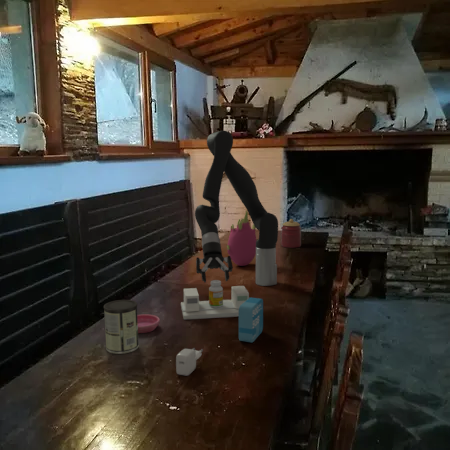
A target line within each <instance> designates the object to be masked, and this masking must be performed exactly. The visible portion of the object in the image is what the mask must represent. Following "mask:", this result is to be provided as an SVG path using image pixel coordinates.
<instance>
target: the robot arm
mask: <svg viewBox="0 0 450 450" xmlns="http://www.w3.org/2000/svg"><path fill="white" fill-rule="evenodd" d="M233 145H234V137H233V136H232V134H231V132H229V131H227V130H220V131H215V132H213V133H211V134H209V135H208V136H207V139H206V146H207V148H208V150H209V152H210V153H211V154H212V156H213V161H212V162H211V166H210V168H209V171H208V172H207V175H206V178H205V181H204V185H203V191H202V198H203V199H204V200H206V201H207V202H209V204H210V205H206V204H199V205H198V206H196V208H195V211H194V217H195V220H196V222H197V225H198V227H199V229H200V233H201V248H202V255H203V258H200V257H196V260H195V265H196V266H195V267H196V270H195V271H196V274H200V275H201V280H202V282H204V283H207V275H206V272H208V269H210V270H213V269H216V270H217V269H220V270H221V271H223V272H224V279H225V282H228V281H229V279H230V272H233V268H234V266H233V263H232V262H233V261H232V259H231V257H230V255H228V256H227V257H224V255H223V252H222V245H221V240H220V236H219V235H220V234H219V228H218V225H217V224H216V223H217V222H218V221H219V219H220V216H221V213H220V212H221V210H220V193H221V187H222V181H223V178H224V175H225V176H226V178H227V179H228V180H229V182H230V185H231V186H232V188H233V190H234V191H235V193H236V195H237V196H238V198H239V200H240V201H241V203H242V204H243V205H244V207H245V209H246V211H247V212H248V216H249V217H250V219H251V221H252V222H251V223H252V225H254V226H255V227H256V230H258V233H259V234H258V240H257V241H256V254H255V284H256V285H257V286H263V287H264V286H265V287H266V286H267V287H269V286H271V287H272V286H274V285H277V284H278V277H277V276H278V264H277V263H276V261H277V260H276V258H277V257H276V256H277V242H278V239H279V221H278V217H277V216H276V215H275V214H273V213H271V212H268V211H267V210H266V209H265V207H264V206H263V204H262V202H261V201H260V198H259V195H258V190H257V187H256V183H255V182H254V180H253V178H252V177H251V175H250V173H249V171H248V170H247V169H246V168H245V167H244V166H243V165H242V164H240V163H239V162H238V161H237V159H236V158H235V157H234V155H233V154H232V152H231V151H232V148H233ZM224 262H225V263H224ZM202 263H203V264H204V266H203V267H202V268H201V266H200V265H201V264H202ZM226 264H227V265H226Z"/></svg>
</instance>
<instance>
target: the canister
mask: <svg viewBox="0 0 450 450" xmlns="http://www.w3.org/2000/svg"><path fill="white" fill-rule="evenodd" d="M280 232H281V233H280V246H281V247H282V248H289V249H290V248H291V249H293V248H300V247H301V246H302V227H301V224H300V223H299V222H297V221H294V219H293V218H290V219H289V221H285V222H283V223H282V226H281V231H280Z"/></svg>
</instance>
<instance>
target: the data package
mask: <svg viewBox="0 0 450 450" xmlns="http://www.w3.org/2000/svg"><path fill="white" fill-rule="evenodd" d="M263 329H264V300H263V298H259V297H250V296H249V299H247V300H246V301H245V302H244V303H243V304H241V305H240V307H239V316H238V339H239V341H240V342H246V343H251V344H252V343H253V342H255V341H256V340H257V339H258V337H259V336H260V335H261V334H262V332H263Z"/></svg>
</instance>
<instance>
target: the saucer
mask: <svg viewBox="0 0 450 450" xmlns="http://www.w3.org/2000/svg"><path fill="white" fill-rule="evenodd" d="M137 318H138V334H146V333H151V332H152V331H155V329H156V328H157V327H158V326H159V325H160V322H161V319H160V318H159V317H158V315H154V314H147V313H146V314H145V313H144V314H137Z"/></svg>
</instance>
